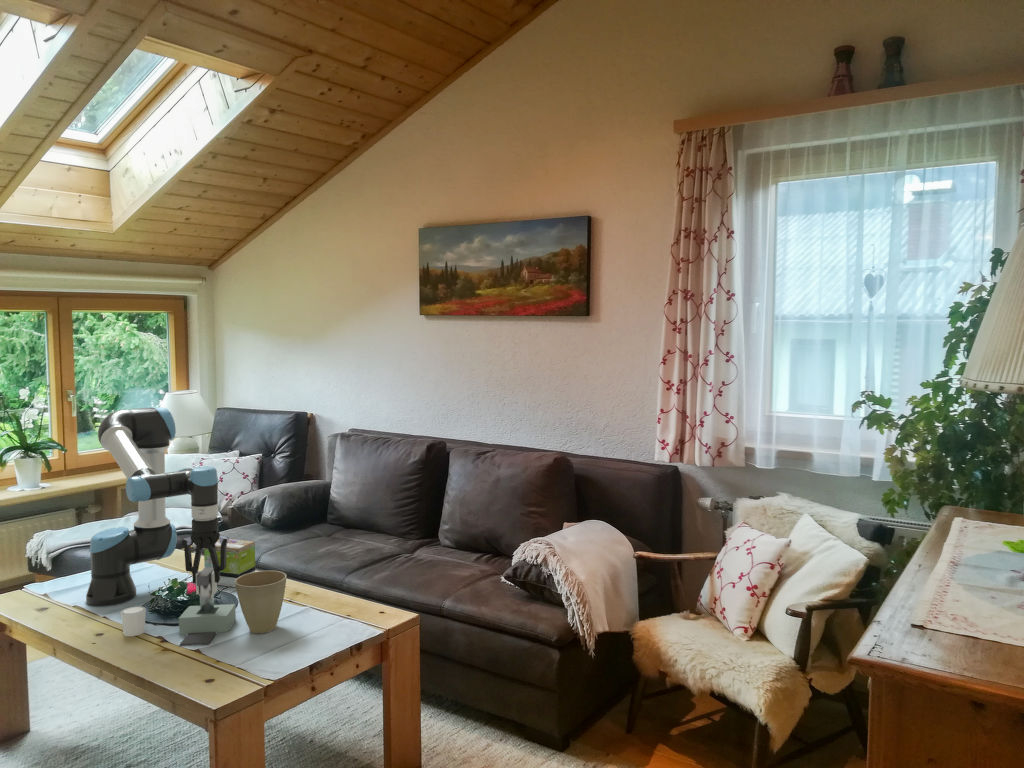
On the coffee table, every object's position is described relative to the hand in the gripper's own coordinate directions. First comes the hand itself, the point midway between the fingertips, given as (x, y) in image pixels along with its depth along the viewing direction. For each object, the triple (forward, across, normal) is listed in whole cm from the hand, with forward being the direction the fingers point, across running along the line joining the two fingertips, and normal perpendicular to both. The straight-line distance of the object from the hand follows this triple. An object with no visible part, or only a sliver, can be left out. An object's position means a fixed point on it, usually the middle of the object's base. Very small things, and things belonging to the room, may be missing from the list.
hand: (206, 592), depth 230 cm
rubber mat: (+11, 0, -10) cm, 15 cm away
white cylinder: (+11, -21, -2) cm, 24 cm away
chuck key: (+5, 0, 0) cm, 5 cm away
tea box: (+11, -4, +43) cm, 44 cm away
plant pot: (+11, +17, -4) cm, 21 cm away
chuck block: (+11, 0, 0) cm, 11 cm away
